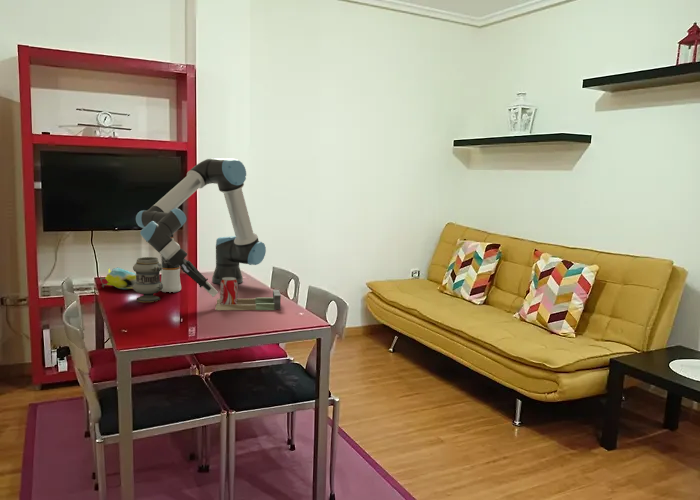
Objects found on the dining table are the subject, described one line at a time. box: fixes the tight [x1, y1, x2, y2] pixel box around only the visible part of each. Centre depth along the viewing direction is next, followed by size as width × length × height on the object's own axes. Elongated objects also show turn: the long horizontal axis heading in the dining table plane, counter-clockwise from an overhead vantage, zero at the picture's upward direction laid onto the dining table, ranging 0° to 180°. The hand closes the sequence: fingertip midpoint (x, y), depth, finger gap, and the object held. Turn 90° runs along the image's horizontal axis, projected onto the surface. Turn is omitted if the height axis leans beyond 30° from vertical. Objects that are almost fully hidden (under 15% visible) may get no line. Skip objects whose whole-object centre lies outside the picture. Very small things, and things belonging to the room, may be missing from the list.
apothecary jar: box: [132, 256, 163, 303], centre depth 241 cm, size 12×12×18 cm
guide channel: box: [215, 289, 282, 311], centre depth 237 cm, size 12×26×6 cm, turn 101°
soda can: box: [219, 277, 239, 304], centre depth 235 cm, size 7×7×12 cm
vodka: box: [160, 234, 182, 294], centre depth 259 cm, size 9×9×30 cm
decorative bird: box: [99, 267, 136, 290], centre depth 263 cm, size 14×30×9 cm, turn 64°
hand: (215, 294), depth 234 cm, fingers closed
